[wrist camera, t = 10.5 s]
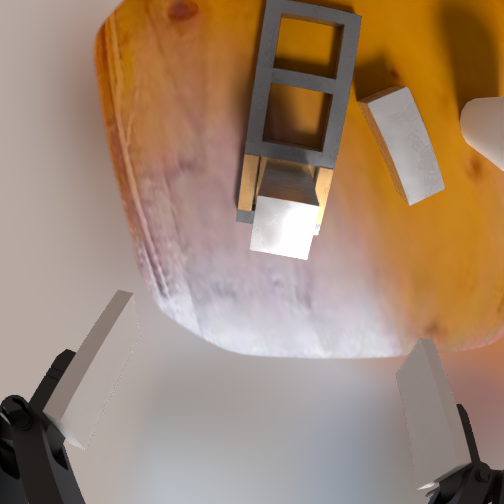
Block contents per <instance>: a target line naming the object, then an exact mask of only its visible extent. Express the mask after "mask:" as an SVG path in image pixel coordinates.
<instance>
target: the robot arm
mask: <svg viewBox="0 0 504 504" xmlns="http://www.w3.org/2000/svg"><path fill="white" fill-rule="evenodd" d="M139 337H140V332H139V326H138V320H137V315H136V307H135V302H134V294H133V293H130V292H126V291H121V290H118V291H117V292H116V294H115V295H114V297H113V298H112V300H111V301H110V302H109V304H108V305H107V307H106V308H105V310H104V311H103V313H102V314H101V316H100V317H99V319H98V320H97V322H96V323H95V325H94V326H93V328H92V329H91V331H90V332H89V334H88V336H87V337H86V339H85V340H84V342H83V343H82V345H81V347H80V348H79V350H78V351H77V353H76V352H73V351H71V350H68V349H66V350H65V351H64V352H62V353H61V354H59V355H58V356H57V357H56V359H55V360H54V362H53V363H52V365H51V368H49V370H48V372H47V373H46V376H44V378H43V380H42V381H41V383H40V384H39V386H38V388H37V389H36V391H35V393H34V395H33V396H32V398H31V400H30V401H29V403H28V402H27V401H26V400H25V399H24V398H23V397H21V396H19V395H11V396H8V397H6V398H5V400H3V401H2V403H1V405H0V504H28V503H29V504H85V501H84V499H83V497H82V494H81V492H80V489H79V487H78V484H77V482H76V479H75V476H74V474H73V471H72V468H71V465H70V463H69V459H68V456H67V453H66V450H65V447H64V445H63V443H64V440H65V438H66V439H67V440H68V441H69V442H70V444H72V445H75V446H77V447H79V448H81V449H83V450H85V451H87V449H88V447H89V445H90V442H91V440H92V437H93V435H94V433H95V430H96V428H97V426H98V424H99V421H100V419H101V417H102V415H103V412H104V410H105V408H106V406H107V404H108V401H109V399H110V397H111V395H112V393H113V391H114V388H115V386H116V384H117V382H118V380H119V378H120V376H121V374H122V372H123V369H124V367H125V365H126V363H127V361H128V359H129V357H130V355H131V353H132V351H133V349H134V347H135V345H136V343H137V341H138V339H139ZM396 378H397V382H398V386H399V391H400V395H401V400H402V404H403V408H404V414H405V418H406V424H407V429H408V434H409V440H410V446H411V451H412V458H413V465H414V472H415V479H416V488H417V490H418V489H422V488H428V487H431V486H433V485H435V484H437V483H438V482H439V485H440V486H439V487H437V488H436V489H434V490H432V491H430V492H428V493H427V495H426V497H428V496H429V495H431V494H433V496H431V497H430V501H429V503H428V504H488V503H490V502H492V504H504V470H502V471H501V470H492V469H490V467H489V466H488V465H487V464H486V463H483V462H481V461H480V458H479V455H478V450H477V446H476V443H475V439H474V436H473V432H472V428H471V424H469V423H470V421H469V418H468V415H467V412H466V410H465V409H464V408H463V406H462V405H461V404H456V403H455V399H454V396H453V393H452V390H451V387H450V384H449V381H448V379H447V376H446V373H445V370H444V367H443V365H442V362H441V359H440V357H439V354H438V351H437V349H436V346H435V344H434V341H433V339H424V338H420V339H419V341H418V342H417V344H416V345H415V347H414V348H413V350H412V351H411V353H410V354H409V356H408V357H407V359H406V360H405V362H404V363H403V365H402V366H401V367H400V369H399V370H398V371H397V373H396Z"/></svg>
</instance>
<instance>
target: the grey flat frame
mask: <svg viewBox="0 0 504 504" xmlns="http://www.w3.org/2000/svg"><path fill="white" fill-rule="evenodd" d="M282 17H284V18H291V19H297V20H303V21H308V22H314V23H319V24H324V25H328V26H333V27H337V28H341V33H340V40H339V46H338V53H337V59H336V65H335V71H334V77H333V79H330V78H326V77H321V76H316V75H311V74H306V73H301V72H295V71H289V70H283V69H277V68H274V63H275V57H276V50H277V44H278V37H279V31H280V24H281V18H282ZM361 18H362V16H360V15H356V14H353V13H349V12H345V11H341V10H337V9H332V8H328V7H323V6H318V5H313V4H308V3H302V2H296V1H289V0H267V2H266V9H265V15H264V21H263V28H262V34H261V40H260V47H259V54H258V60H257V67H256V74H255V81H254V88H253V95H252V102H251V109H250V116H249V123H248V131H247V138H246V146H245V153H244V161H243V169H242V177H241V184H240V192H239V200H238V209H237V217H236V221H238V222H244V223H250V224H253V223H254V217H255V210H256V203H257V196H258V192H259V188H260V185H261V181H262V177H263V174H264V170H265V166H266V163H267V161H274V162H280V163H285V164H291V165H297V166H302V167H307V168H310V172H311V175H312V179H313V178H314V181H313V183H314V187H315V190H316V194H317V198H318V202H319V206H320V207H319V212H318V216H317V220H316V224H315V228H314V232H313V235H318V233H319V229H320V225H321V221H322V217H323V213H324V209H325V205H326V201H327V197H328V193H329V189H330V184H331V180H332V176H333V171H334V167H335V162H336V158H337V153H338V149H339V144H340V139H341V135H342V130H343V125H344V120H345V115H346V110H347V104H348V99H349V94H350V88H351V83H352V77H353V71H354V65H355V59H356V53H357V46H358V39H359V33H360V25H361ZM271 83H274V84H280V85H287V86H293V87H298V88H304V89H309V90H314V91H319V92H323V93H328V94H330V100H329V106H328V111H327V116H326V122H325V127H324V132H323V137H322V142H321V147H320V149H319V148H314V147H309V146H304V145H299V144H293V143H288V142H282V141H276V140H270V139H263V136H264V129H265V123H266V116H267V109H268V103H269V96H270V89H271ZM260 156H261V162H260ZM259 163H260V169H259ZM316 166H317V167H316ZM315 168H316V171H315ZM258 170H259V175H258ZM314 173H315V176H314ZM257 176H258V182H257ZM256 183H257V189H256ZM255 190H256V196H255ZM254 197H255V202H254Z"/></svg>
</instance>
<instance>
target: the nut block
mask: <svg viewBox="0 0 504 504" xmlns="http://www.w3.org/2000/svg"><path fill="white" fill-rule="evenodd" d="M357 103H358V105H359V107H360V109H361V111H362V113H363V115H364V117H365V119H366V121H367V123H368V125H369V127H370V130H371V132H372V134H373V136H374V138H375V140H376V143H377V145H378V147H379V149H380V152H381V154H382V156H383V159H384V161H385V163H386V166H387V168H388V171H389V173H390V176H391V178H392V181H393V183H394V186H395V189H396V191H397V192H398V194H399V195H400V196H401V197H402V198H403V199H404V200H405V201H406V202H407V203H408V204H409V206H410V205H412V204H414V203H416V202H418V201H421V200H423V199H425V198H427V197H429V196H431V195H433V194H435V193H437V192H439V191H441V190H443V189H445V187H444V183H443V180H442V176H441V173H440V170H439V166H438V163H437V160H436V157H435V154H434V151H433V148H432V145H431V142H430V140H429V137H428V134H427V131H426V129H425V126H424V124H423V121H422V119H421V116H420V114H419V111H418V109H417V106H416V104H415V102H414V99H413V97H412V95H411V93H410V91H409V88H408V87H405V86H392V87H389V88H387V89H385V90H382V91H380V92H378V93H375V94H373V95H371V96H368V97H366V98H364V99H361V100H359V101H357Z"/></svg>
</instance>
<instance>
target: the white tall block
mask: <svg viewBox="0 0 504 504" xmlns="http://www.w3.org/2000/svg"><path fill="white" fill-rule="evenodd" d="M319 207H320V206H319V202H318V198H317V194H316V190H315V187H314V183H313V179H312V175H311V172H310V168H307V167H302V166H297V165H291V164H285V163H280V162H274V161H267V163H266V166H265V170H264V174H263V177H262V181H261V185H260V188H259V192H258V196H257V203H256V210H255V217H254V223H253V230H252V237H251V244H250V250H255V251H261V252H267V253H273V254H279V255H285V256H291V257H297V258H302V259H307V256H308V252H309V248H310V244H311V240H312V236H313V232H314V228H315V224H316V220H317V216H318V212H319Z"/></svg>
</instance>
